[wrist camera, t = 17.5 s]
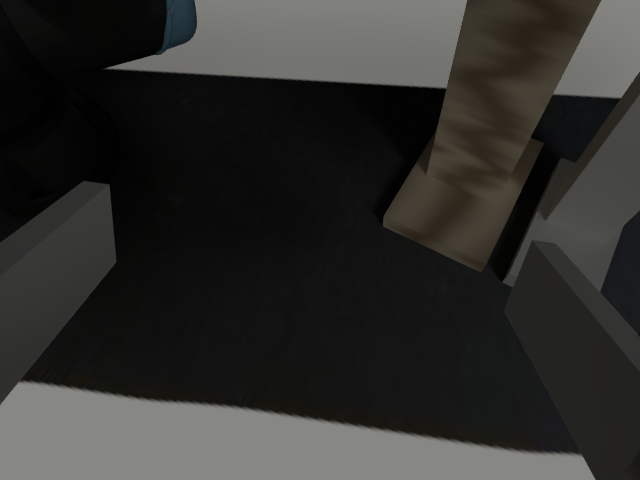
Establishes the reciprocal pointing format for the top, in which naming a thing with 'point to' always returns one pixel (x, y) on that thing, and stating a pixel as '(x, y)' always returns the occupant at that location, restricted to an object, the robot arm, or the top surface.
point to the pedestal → (488, 124)
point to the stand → (591, 196)
